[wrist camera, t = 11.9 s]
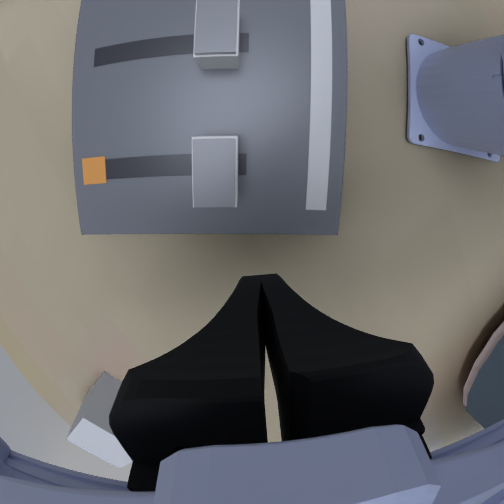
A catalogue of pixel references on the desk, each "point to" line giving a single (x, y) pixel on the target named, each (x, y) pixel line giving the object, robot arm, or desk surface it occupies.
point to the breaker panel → (209, 113)
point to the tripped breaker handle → (215, 171)
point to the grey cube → (99, 423)
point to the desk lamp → (487, 382)
